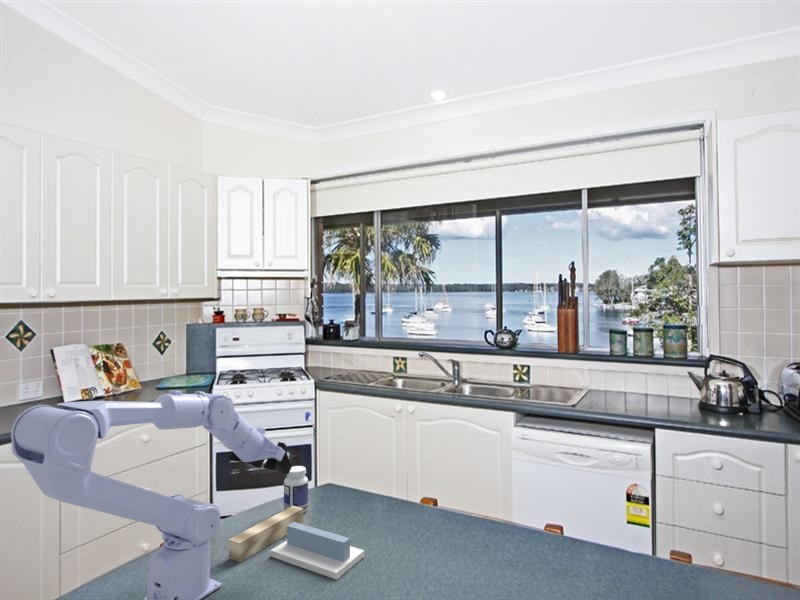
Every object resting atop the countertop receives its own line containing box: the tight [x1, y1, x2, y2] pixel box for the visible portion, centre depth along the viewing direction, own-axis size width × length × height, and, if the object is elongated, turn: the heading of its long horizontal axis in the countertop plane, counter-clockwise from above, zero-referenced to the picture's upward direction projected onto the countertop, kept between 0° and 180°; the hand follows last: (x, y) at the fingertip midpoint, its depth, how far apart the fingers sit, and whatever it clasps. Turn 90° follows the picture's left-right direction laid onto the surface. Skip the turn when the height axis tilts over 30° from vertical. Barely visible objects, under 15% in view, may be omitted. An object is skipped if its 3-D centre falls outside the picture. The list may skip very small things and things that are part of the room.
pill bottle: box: [283, 465, 309, 514], centre depth 114 cm, size 6×6×10 cm
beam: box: [228, 506, 304, 563], centre depth 99 cm, size 18×3×4 cm, turn 150°
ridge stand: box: [270, 522, 366, 580], centre depth 93 cm, size 9×16×5 cm, turn 61°
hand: (275, 466), depth 100 cm, fingers open, 7 cm apart
